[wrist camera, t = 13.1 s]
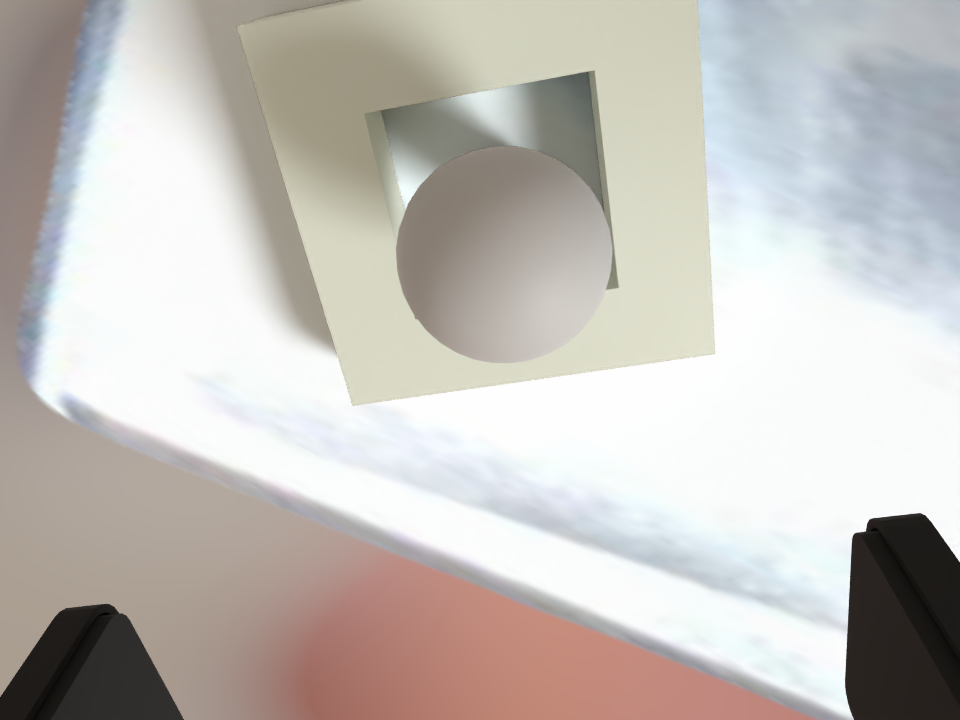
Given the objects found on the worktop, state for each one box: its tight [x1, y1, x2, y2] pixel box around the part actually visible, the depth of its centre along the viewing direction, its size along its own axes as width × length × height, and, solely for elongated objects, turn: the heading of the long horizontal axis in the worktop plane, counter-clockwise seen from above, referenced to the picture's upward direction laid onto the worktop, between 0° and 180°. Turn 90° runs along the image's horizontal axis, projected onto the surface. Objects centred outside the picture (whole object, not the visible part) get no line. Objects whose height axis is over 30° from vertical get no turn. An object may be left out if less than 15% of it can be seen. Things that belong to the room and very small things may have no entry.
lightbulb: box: [396, 146, 612, 363], centre depth 24 cm, size 6×6×11 cm
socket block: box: [236, 0, 715, 406], centre depth 28 cm, size 14×14×3 cm
